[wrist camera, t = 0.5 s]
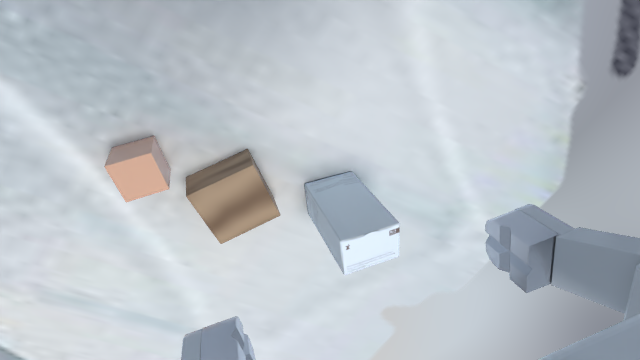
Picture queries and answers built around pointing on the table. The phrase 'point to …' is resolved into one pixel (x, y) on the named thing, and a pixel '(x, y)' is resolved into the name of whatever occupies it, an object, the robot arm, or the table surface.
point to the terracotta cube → (138, 168)
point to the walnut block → (231, 196)
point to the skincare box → (352, 222)
